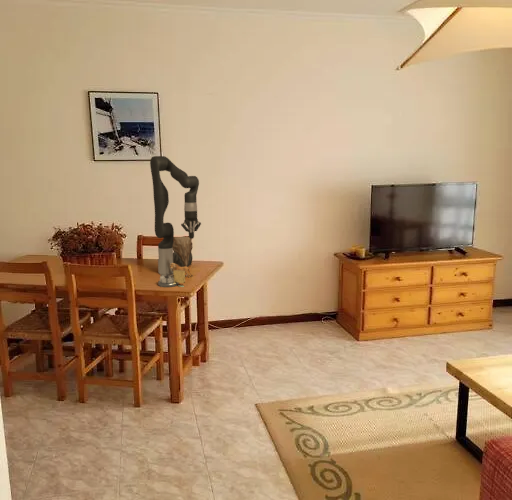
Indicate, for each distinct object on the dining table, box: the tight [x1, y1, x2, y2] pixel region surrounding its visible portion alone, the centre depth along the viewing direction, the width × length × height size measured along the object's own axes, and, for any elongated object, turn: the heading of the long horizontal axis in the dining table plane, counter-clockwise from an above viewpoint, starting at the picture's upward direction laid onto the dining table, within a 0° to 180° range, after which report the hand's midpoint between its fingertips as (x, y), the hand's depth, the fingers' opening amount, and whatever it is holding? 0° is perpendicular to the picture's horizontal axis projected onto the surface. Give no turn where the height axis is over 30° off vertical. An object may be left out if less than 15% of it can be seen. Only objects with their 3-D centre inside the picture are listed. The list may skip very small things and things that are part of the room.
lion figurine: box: [170, 263, 194, 278], centre depth 313 cm, size 15×5×9 cm, turn 91°
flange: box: [157, 274, 180, 288], centre depth 295 cm, size 12×12×6 cm
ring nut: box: [159, 270, 186, 284], centre depth 293 cm, size 16×10×7 cm, turn 67°
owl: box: [173, 235, 193, 268], centre depth 342 cm, size 13×13×20 cm
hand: (191, 238), depth 297 cm, fingers closed
